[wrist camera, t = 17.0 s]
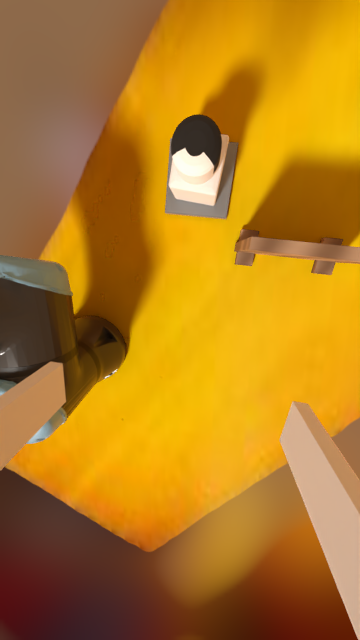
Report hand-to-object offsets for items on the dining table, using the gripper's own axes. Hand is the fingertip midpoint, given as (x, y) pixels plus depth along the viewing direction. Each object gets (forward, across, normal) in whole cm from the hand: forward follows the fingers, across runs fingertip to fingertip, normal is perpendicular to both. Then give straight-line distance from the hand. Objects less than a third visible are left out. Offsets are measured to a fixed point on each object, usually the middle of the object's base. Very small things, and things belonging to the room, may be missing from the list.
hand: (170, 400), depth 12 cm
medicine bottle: (+31, -2, +20) cm, 37 cm away
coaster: (+32, -2, +20) cm, 38 cm away
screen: (+32, +15, +10) cm, 36 cm away
